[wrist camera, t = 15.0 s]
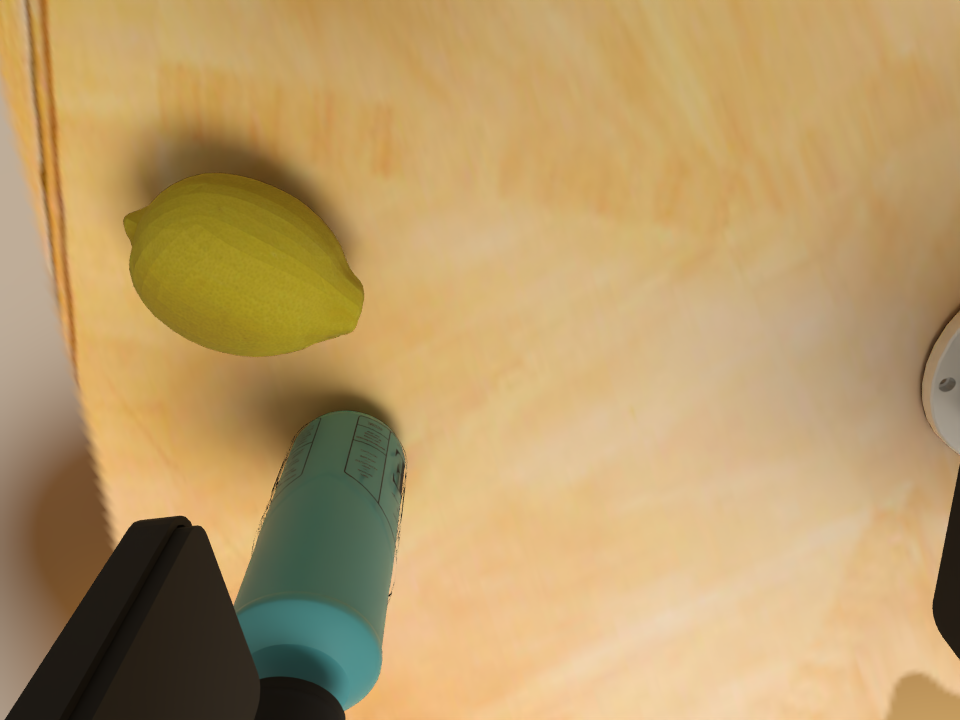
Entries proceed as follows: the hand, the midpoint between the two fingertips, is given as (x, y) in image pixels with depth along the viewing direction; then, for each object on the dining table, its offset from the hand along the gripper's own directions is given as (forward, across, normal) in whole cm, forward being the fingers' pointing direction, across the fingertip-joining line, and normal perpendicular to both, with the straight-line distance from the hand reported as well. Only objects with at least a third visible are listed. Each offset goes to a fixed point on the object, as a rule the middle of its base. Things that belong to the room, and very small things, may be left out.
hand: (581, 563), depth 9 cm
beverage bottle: (+28, +10, +15) cm, 34 cm away
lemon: (+28, +12, +3) cm, 31 cm away
